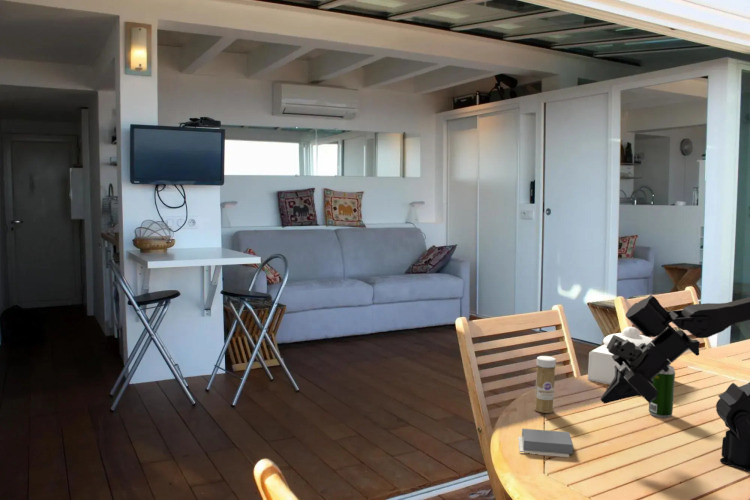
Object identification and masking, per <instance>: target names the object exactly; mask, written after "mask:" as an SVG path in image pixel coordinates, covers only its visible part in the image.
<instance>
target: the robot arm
mask: <svg viewBox="0 0 750 500" xmlns="http://www.w3.org/2000/svg"><path fill="white" fill-rule="evenodd" d="M625 317H626V318H627V319H628V320H629V322H631V324H633V325H634V327H635V328H636V329H637V330H638V331H639V333H641V335H644V336H646V337H650V336H651V337H653V338H654V339H653V338H652V339H653V340H652V341H651V342H652V343H653V344H654V345H655V346H654V345H653V344H652V343H651V342H650V343H648V344H647V345H646V344H645V343H644V344H643V343H642V344H640V345H639V346H636V345H635V344H634V343H633V342H630V341H628V340H624V339H622V338H620V337H618V336H616V335H613V336H612V338H611V340H610V342H609V344H608V345H607V347H606V348H607V349H609V350H608V351H609V352H610V353H612V354H614V355H613V356H612V358H613V360H614V361H615V362H617V363H618V364H619V365H620V367H619V368H617V367H616V366H615V367H614V368H615V377H614V379H613V381H612V382H611V384H610V385H609V384H608V387H607V389H606V390H605V391H604V393H603V394H602V396H601V397H600V401H601V402H602V403H603V404H608V403H612V402H616V401H620V400H623V399H630V398H633V397H637V396H638V397H641V396H642V398H644V399H645V400H646V402H647V403H648V404H649V403H651V402H652V401H653V400H655V399H656V398H657V390H656V388H655V387H654V386H653V385H652V383H654V382H653V381H652V379H653V378H654V377H655V376H657V375H658V374H659V373H660V372H661V371H663V370H664V371H665V372H667V371H668V370H669V368H668V367H667V366H669V365H670V366H671V364H673V363H674V362H675V361H677V359H678V358H680V357H681V356H683V354H684V353H685V352H687V351H688V350H690V352H691V353H693V354H694V355H695V356H699V355H700V344H701V342H700V341H699V340H698V339H692V338H690V336H689V335H688V334H687V333H685V331H687V332H688V333H689V334H691V335H692V336H694V337H696V338H699V339H707V338H710V337H713V336H715V335H717V334H719V333H721V332H724V331H725V330H726V329H728V328H730V327H731V326H733V325H735V324H738V323H742V322H748V321H750V296H748V297H745V298H741V299H737V300H733V301H729V302H722V303H721V302H720V303H714V302H713V303H710V302H709V303H697V304H688V305H687V306H685V307H683V309H678V310H668V311H667V310H666V309H665V308H664V306H663V305H661V303H660V301H659V300H658V299H657V298H656V297H655V296H654V295H652V294H650V295H649V296H648V297H646V298H643V299H641V300H640V301H638V302H635V303H634V304H633V305H631V306H630V307H629V309H628V310H627V312H626V313H625ZM670 323H672V324H673V325H674V326H676V327H677V328H679V330H678V329H677V330H675V329H674V328H673V326H672V325H671V324H670ZM684 330H685V331H684ZM668 360H669V361H670V362H669V361H668ZM718 398H719V399H718V400H717V401H716V404H715V409H716V413H717V416H719V418H720V419H721V420H722V421H723V422H724V424H725V425H724V426H725V427H726V428H728V430H726V431H725V435H724V437H722V441H721V442H722V444H721V457H722V458H720V459H719V461H720V462H719V463H722V464H725V465H729V466H732V467H734V468H737V469H740V470H744V471H746V472H750V381H749V382H748V383H746V384H742V385H740V386H738V385H737V384H736V383H734V382H732V383H731V384H729V386H728V387H727V388H726V390H725V391H724V392H722V393H721V394H719V395H718Z"/></svg>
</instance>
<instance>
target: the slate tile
mask: <svg viewBox="0 0 750 500" xmlns="http://www.w3.org/2000/svg"><path fill="white" fill-rule="evenodd" d="M571 436H572V435H571V434H570V432H569V431H556V430H545V429H532V428H521V437H522V443H523V450H530V451H542V452H554V453H566V454H569V455H573V453H574V443H573V439H572V437H571Z"/></svg>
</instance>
